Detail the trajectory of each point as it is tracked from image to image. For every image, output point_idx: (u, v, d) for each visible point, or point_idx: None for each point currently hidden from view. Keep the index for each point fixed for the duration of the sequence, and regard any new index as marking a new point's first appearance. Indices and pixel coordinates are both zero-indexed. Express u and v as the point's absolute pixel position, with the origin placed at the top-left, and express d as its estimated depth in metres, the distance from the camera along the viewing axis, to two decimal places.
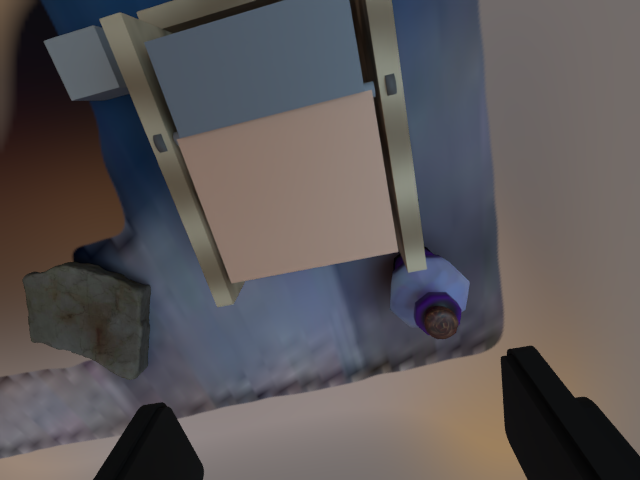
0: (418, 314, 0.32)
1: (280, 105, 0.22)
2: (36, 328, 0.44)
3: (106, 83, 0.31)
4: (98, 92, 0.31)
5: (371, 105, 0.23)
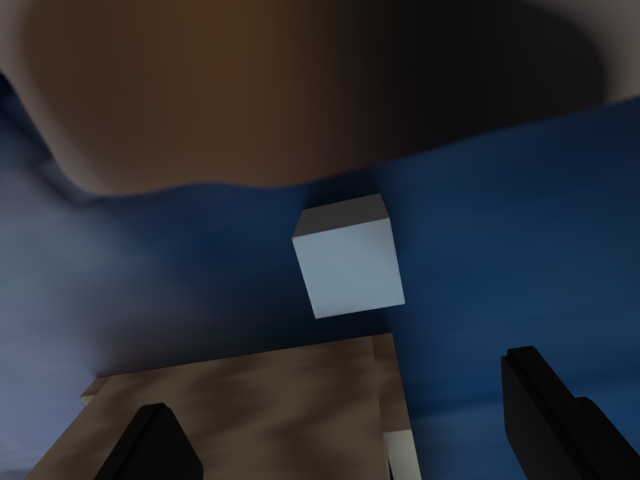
0: None
1: None
2: None
3: (320, 301, 0.19)
4: (306, 285, 0.18)
5: None
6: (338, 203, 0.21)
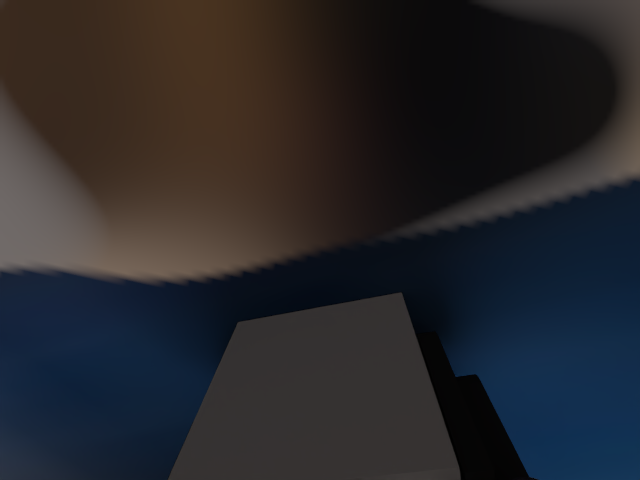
0: None
1: None
2: None
3: None
4: None
5: None
6: (311, 316, 0.10)
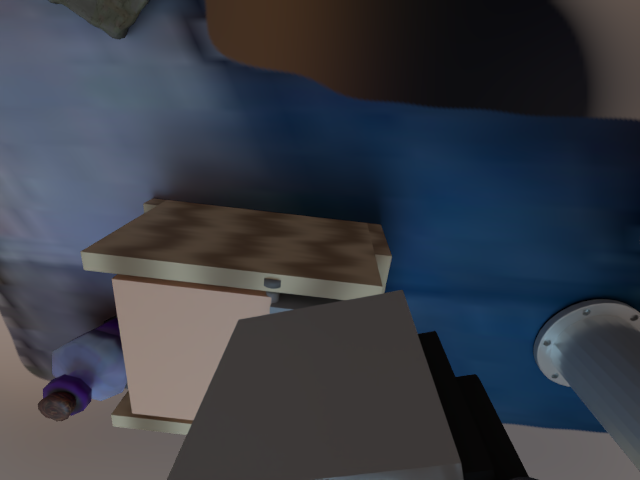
0: (66, 387, 0.34)
1: None
2: None
3: None
4: None
5: None
6: (312, 313, 0.10)
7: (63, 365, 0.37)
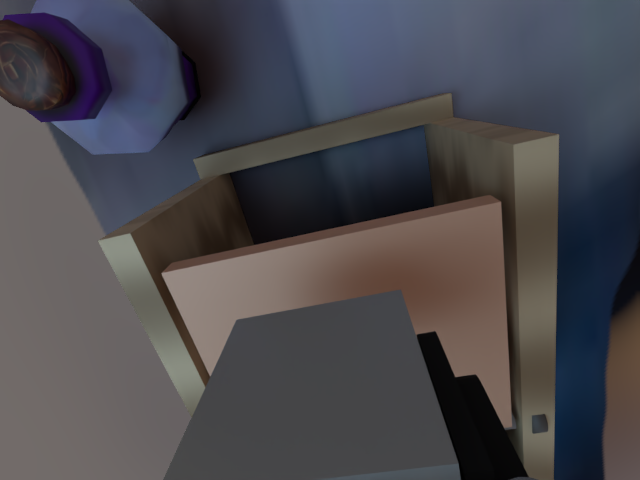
0: (88, 76, 0.14)
1: None
2: None
3: None
4: None
5: None
6: (310, 313, 0.10)
7: (94, 19, 0.16)
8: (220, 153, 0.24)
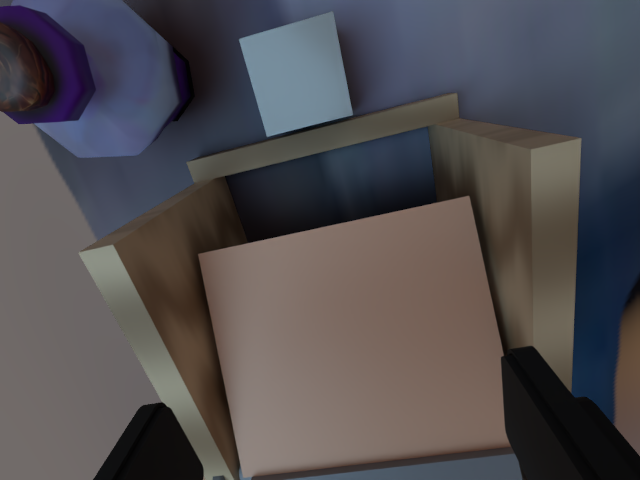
0: (68, 75, 0.13)
1: None
2: None
3: None
4: None
5: (242, 459, 0.18)
6: None
7: (77, 14, 0.15)
8: (215, 156, 0.23)
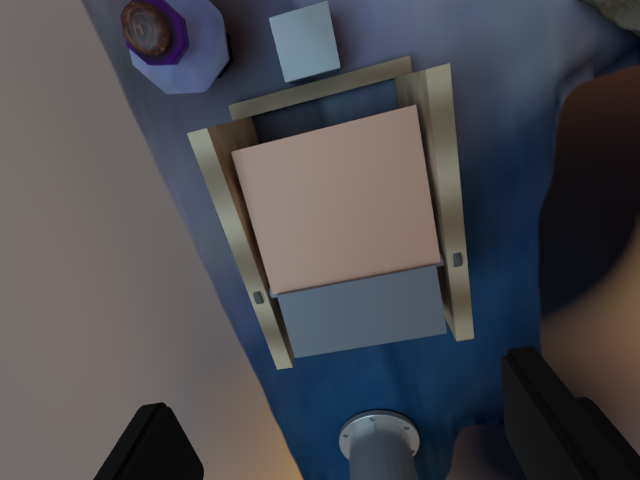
0: (179, 35, 0.24)
1: (343, 288, 0.28)
2: None
3: None
4: None
5: (271, 283, 0.28)
6: (311, 75, 0.30)
7: (175, 1, 0.26)
8: (247, 100, 0.33)
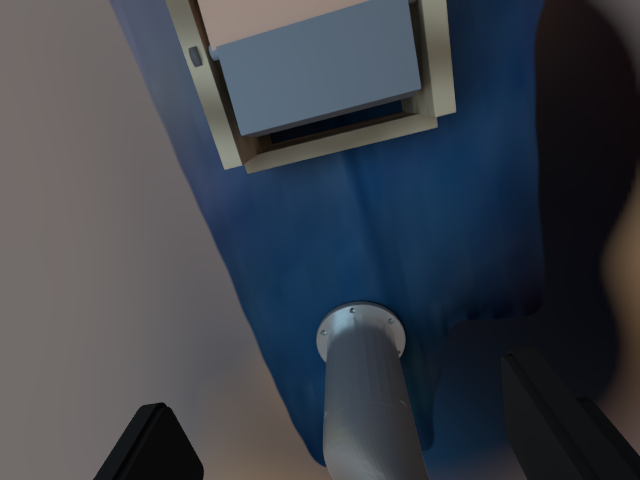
0: None
1: (295, 30, 0.23)
2: None
3: None
4: None
5: (210, 35, 0.24)
6: None
7: None
8: None
